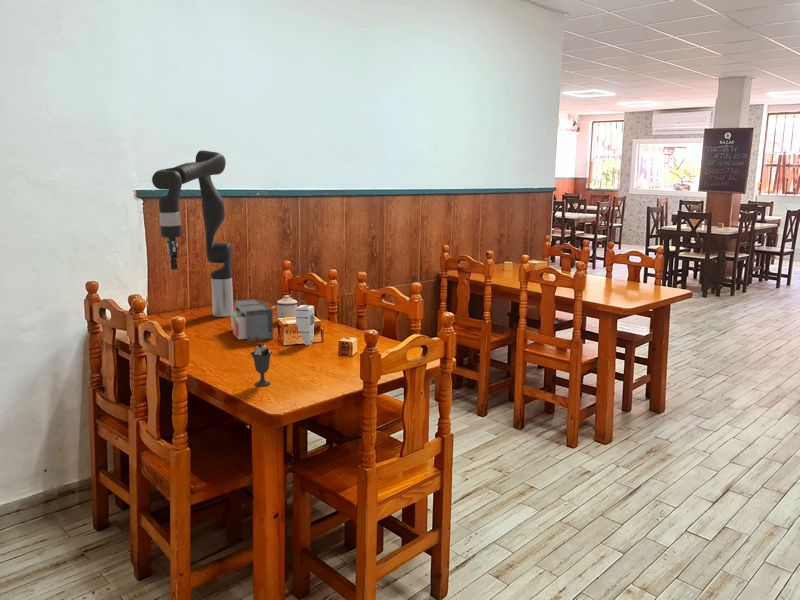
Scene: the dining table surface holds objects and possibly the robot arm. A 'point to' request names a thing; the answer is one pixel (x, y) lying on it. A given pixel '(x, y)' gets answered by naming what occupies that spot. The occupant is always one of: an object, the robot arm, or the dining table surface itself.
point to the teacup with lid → (285, 307)
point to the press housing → (256, 318)
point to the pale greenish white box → (234, 317)
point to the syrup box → (305, 322)
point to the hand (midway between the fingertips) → (174, 269)
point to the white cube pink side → (240, 327)
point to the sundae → (261, 362)
